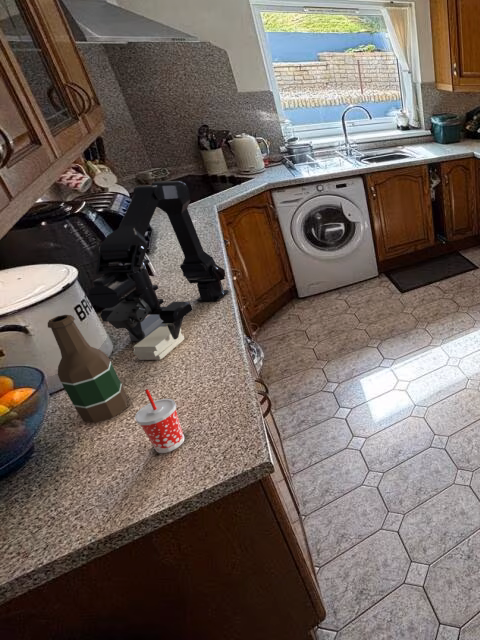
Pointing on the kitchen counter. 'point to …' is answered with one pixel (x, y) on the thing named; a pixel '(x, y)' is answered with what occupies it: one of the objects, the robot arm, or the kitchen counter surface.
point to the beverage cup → (161, 424)
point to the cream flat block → (161, 352)
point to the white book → (154, 340)
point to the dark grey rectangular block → (148, 326)
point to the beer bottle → (87, 374)
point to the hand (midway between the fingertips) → (158, 338)
